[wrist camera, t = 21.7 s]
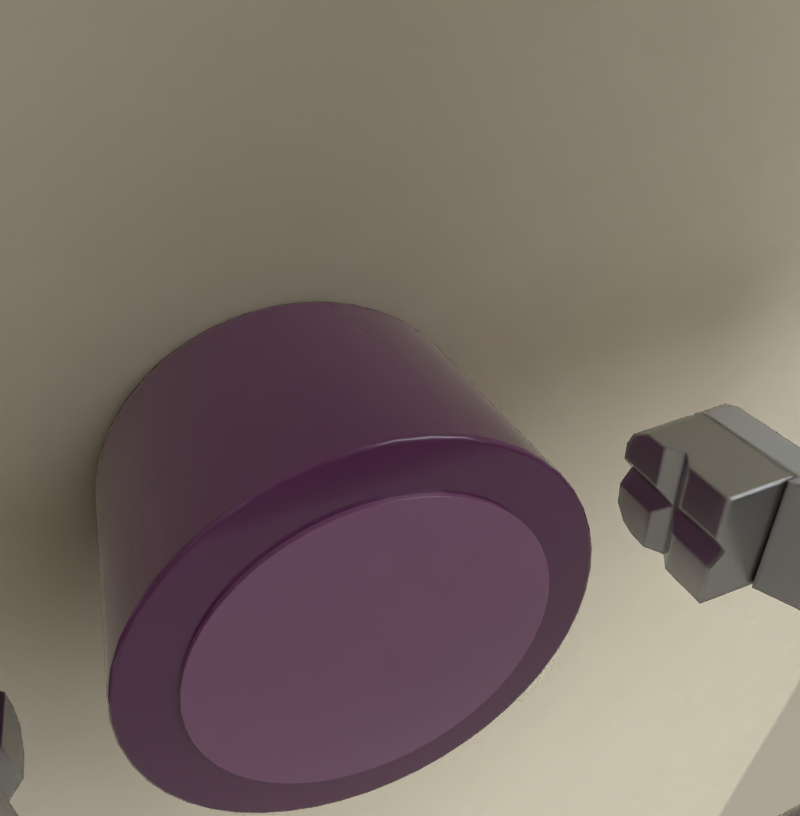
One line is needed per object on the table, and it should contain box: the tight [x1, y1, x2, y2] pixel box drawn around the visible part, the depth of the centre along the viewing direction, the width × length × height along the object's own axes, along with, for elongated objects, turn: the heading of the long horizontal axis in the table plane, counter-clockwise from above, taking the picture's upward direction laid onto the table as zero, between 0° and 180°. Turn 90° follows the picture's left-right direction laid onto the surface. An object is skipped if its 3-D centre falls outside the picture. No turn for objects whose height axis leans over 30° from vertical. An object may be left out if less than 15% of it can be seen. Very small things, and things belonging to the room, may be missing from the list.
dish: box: [95, 302, 592, 813], centre depth 10 cm, size 6×6×4 cm
